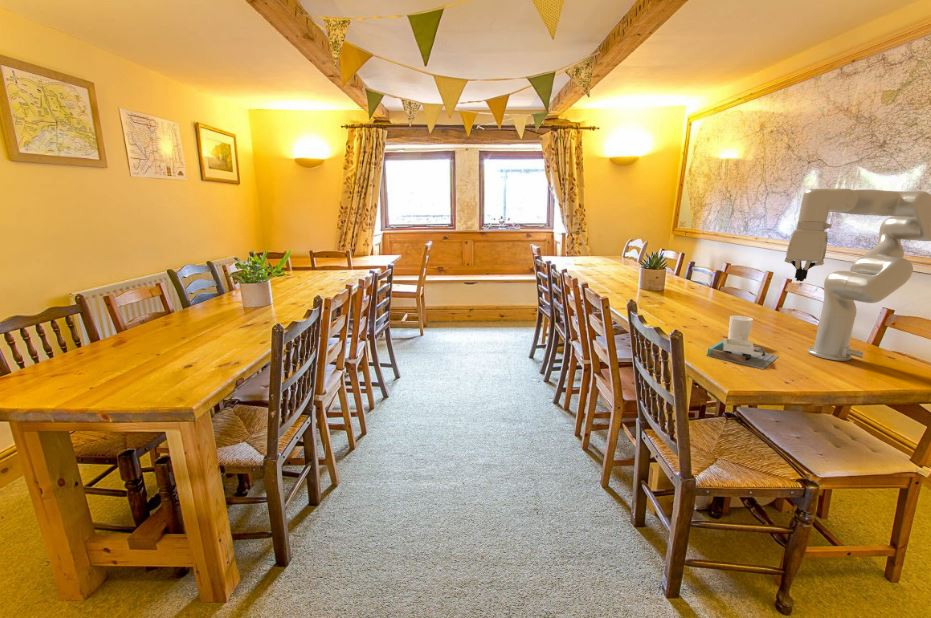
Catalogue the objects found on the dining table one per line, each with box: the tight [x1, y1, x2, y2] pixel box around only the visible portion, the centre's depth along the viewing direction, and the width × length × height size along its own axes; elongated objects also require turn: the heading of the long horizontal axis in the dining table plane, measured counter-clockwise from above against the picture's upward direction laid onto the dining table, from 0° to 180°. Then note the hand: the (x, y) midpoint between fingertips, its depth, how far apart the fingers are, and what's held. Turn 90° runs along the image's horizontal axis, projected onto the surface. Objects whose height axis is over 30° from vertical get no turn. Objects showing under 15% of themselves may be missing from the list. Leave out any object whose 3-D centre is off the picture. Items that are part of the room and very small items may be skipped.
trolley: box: [723, 337, 766, 360], centre depth 155 cm, size 13×8×5 cm, turn 60°
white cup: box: [727, 315, 754, 342], centre depth 174 cm, size 8×8×10 cm
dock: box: [706, 339, 779, 370], centre depth 158 cm, size 18×19×3 cm
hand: (799, 280), depth 148 cm, fingers closed
